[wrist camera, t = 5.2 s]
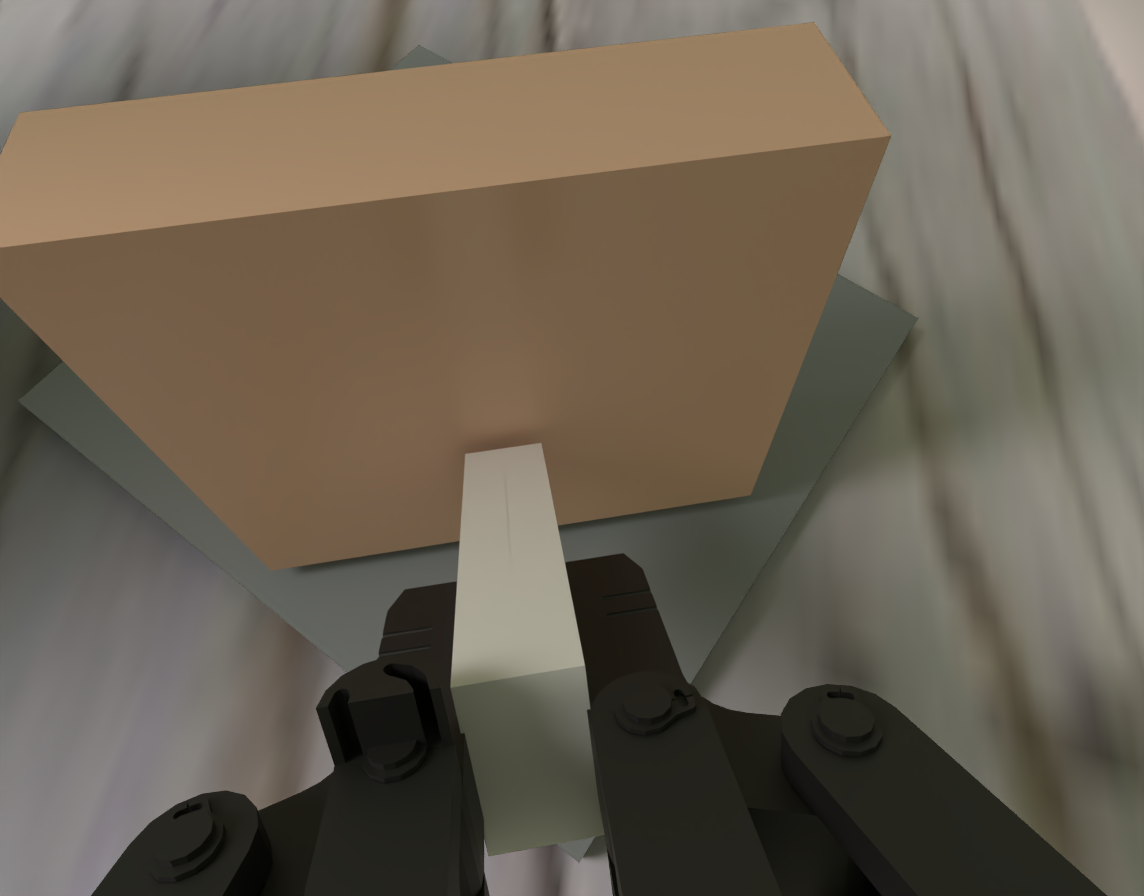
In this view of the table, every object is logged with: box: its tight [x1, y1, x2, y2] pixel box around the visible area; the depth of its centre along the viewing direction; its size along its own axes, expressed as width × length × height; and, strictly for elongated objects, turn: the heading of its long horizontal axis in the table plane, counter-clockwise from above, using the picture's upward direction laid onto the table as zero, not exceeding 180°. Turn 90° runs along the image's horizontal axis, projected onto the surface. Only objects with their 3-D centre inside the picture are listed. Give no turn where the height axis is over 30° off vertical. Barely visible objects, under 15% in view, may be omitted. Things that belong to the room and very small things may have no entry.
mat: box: [18, 45, 918, 862], centre depth 20 cm, size 19×17×1 cm
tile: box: [0, 22, 891, 571], centre depth 14 cm, size 3×12×10 cm, turn 99°
